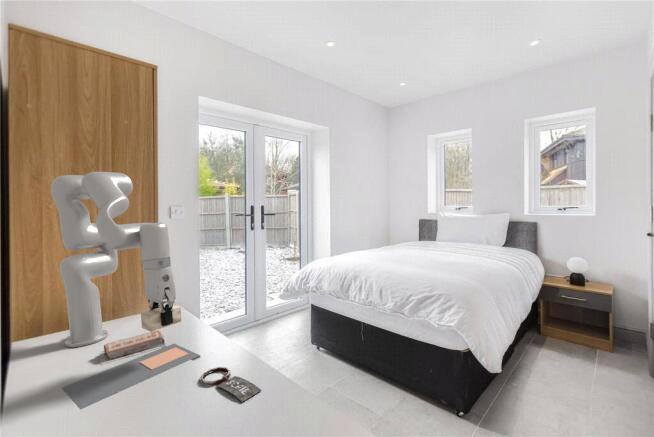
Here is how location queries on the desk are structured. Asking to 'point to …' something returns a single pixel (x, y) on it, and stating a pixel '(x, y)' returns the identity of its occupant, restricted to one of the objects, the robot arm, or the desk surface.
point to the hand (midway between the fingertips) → (162, 322)
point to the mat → (127, 375)
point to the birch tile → (158, 318)
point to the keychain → (232, 384)
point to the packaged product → (131, 346)
